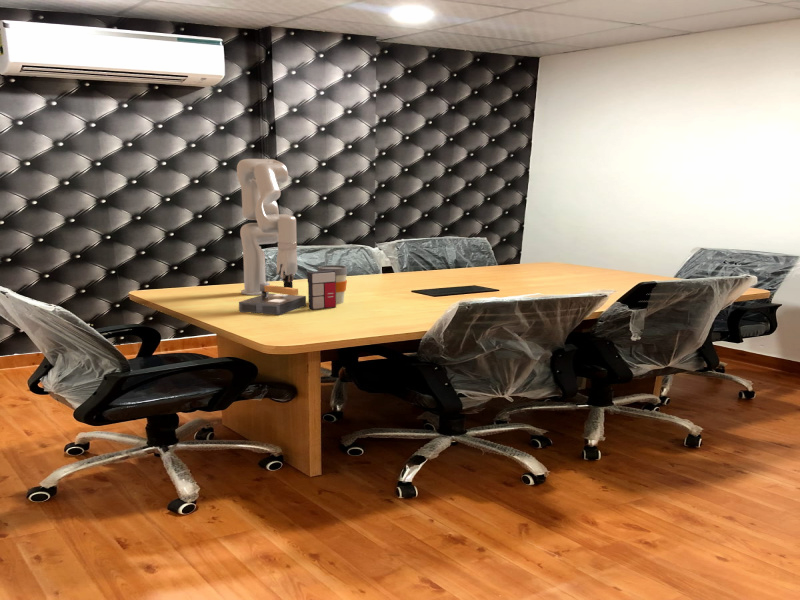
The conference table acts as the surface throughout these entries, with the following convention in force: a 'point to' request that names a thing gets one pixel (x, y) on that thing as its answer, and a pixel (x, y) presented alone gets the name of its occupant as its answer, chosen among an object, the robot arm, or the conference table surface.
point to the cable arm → (278, 289)
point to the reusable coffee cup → (338, 280)
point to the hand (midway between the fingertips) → (288, 291)
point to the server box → (272, 304)
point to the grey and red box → (321, 289)
